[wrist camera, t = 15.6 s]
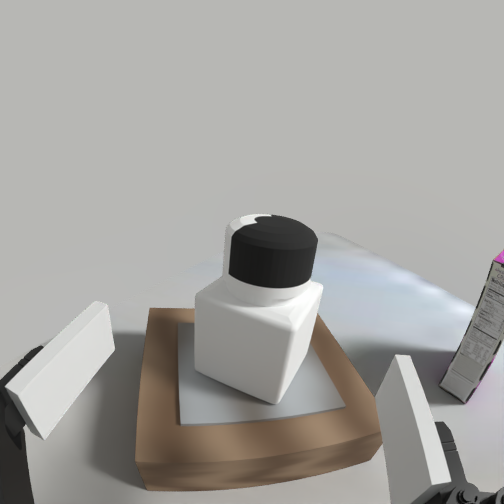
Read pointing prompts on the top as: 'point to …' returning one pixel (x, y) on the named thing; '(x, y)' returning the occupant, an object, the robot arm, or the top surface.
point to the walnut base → (246, 416)
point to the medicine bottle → (259, 307)
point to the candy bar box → (479, 338)
